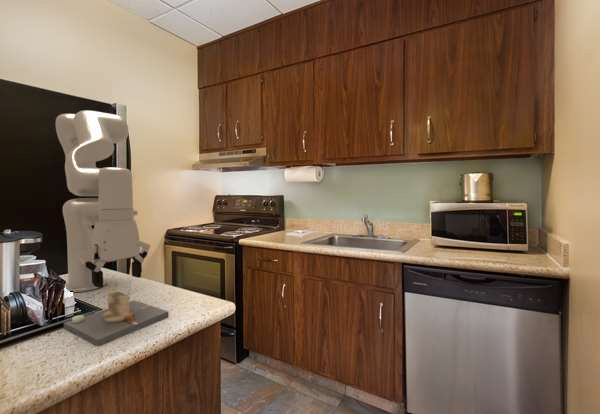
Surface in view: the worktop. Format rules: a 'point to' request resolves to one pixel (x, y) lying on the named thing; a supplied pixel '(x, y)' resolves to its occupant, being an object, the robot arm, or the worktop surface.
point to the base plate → (113, 323)
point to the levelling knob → (118, 308)
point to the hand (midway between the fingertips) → (118, 281)
